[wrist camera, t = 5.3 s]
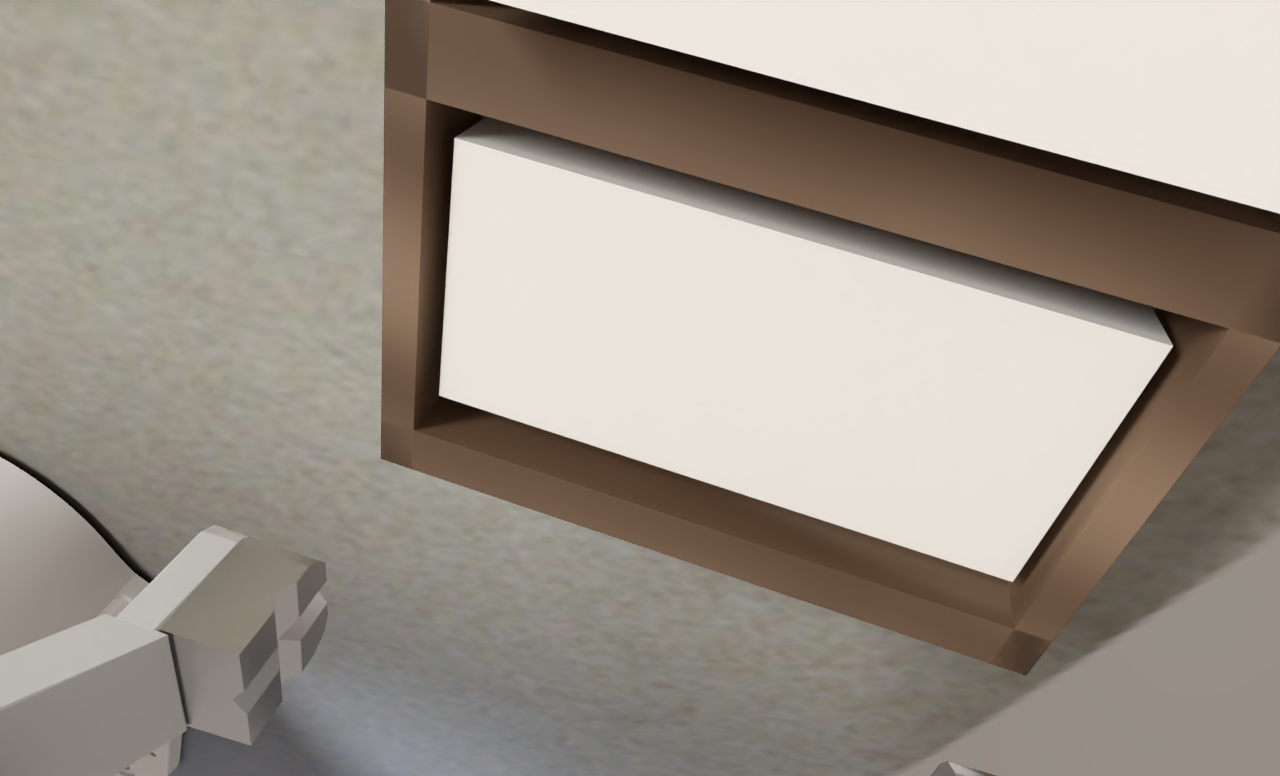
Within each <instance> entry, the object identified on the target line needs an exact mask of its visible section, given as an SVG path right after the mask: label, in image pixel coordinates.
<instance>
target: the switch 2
mask: <svg viewBox="0 0 1280 776" xmlns="http://www.w3.org/2000/svg"><path fill="white" fill-rule="evenodd" d="M1172 347H1173V345H1172V343H1171V341H1170V339H1169V337H1168V336H1167V334H1166V332H1165V330H1164V328H1163V326H1162V325H1161V323H1160V321H1159V319H1158V317H1157V315H1156V314H1155V312H1154V310H1153V308H1152V306H1148V305H1145V304H1141V303H1138V302H1134V301H1131V300H1127V299H1124V298H1120V297H1117V296H1113V295H1110V294H1106V293H1103V292H1099V291H1096V290H1092V289H1089V288H1085V287H1082V286H1078V285H1075V284H1071V283H1068V282H1064V281H1061V280H1057V279H1054V278H1050V277H1047V276H1043V275H1040V274H1036V273H1033V272H1029V271H1026V270H1022V269H1019V268H1015V267H1012V266H1008V265H1005V264H1001V263H998V262H994V261H991V260H987V259H984V258H980V257H977V256H973V255H970V254H966V253H963V252H959V251H956V250H952V249H949V248H945V247H942V246H938V245H935V244H931V243H928V242H924V241H921V240H917V239H914V238H910V237H907V236H903V235H900V234H896V233H893V232H889V231H886V230H882V229H879V228H875V227H872V226H868V225H865V224H861V223H858V222H854V221H851V220H847V219H844V218H840V217H837V216H833V215H830V214H826V213H823V212H819V211H816V210H812V209H809V208H805V207H802V206H798V205H795V204H791V203H788V202H784V201H781V200H777V199H774V198H770V197H767V196H763V195H760V194H756V193H753V192H749V191H746V190H742V189H739V188H735V187H732V186H728V185H725V184H721V183H718V182H714V181H711V180H707V179H704V178H700V177H697V176H693V175H690V174H686V173H683V172H679V171H676V170H672V169H669V168H665V167H662V166H658V165H655V164H651V163H648V162H644V161H641V160H637V159H634V158H630V157H627V156H623V155H620V154H616V153H613V152H609V151H606V150H602V149H599V148H595V147H592V146H588V145H585V144H581V143H578V142H574V141H571V140H567V139H564V138H560V137H557V136H553V135H550V134H546V133H543V132H539V131H536V130H532V129H529V128H525V127H522V126H518V125H515V124H511V123H508V122H504V121H501V120H497V119H494V118H490V117H486V118H484V119H483V120H481V121H480V122H478V123H476V124H475V125H473V126H472V127H470V128H469V129H467V130H466V131H464V132H463V133H461V134H460V135H458V136H457V137H455V138H454V154H453V170H452V187H451V204H450V220H449V237H448V253H447V270H446V287H445V303H444V320H443V337H442V353H441V370H440V387H439V396H442V397H445V398H448V399H451V400H454V401H457V402H460V403H463V404H466V405H469V406H472V407H475V408H478V409H482V410H485V411H488V412H491V413H494V414H497V415H500V416H503V417H506V418H509V419H512V420H515V421H518V422H522V423H525V424H528V425H531V426H534V427H537V428H540V429H543V430H546V431H549V432H552V433H555V434H558V435H561V436H565V437H568V438H571V439H574V440H577V441H580V442H583V443H586V444H589V445H592V446H595V447H598V448H601V449H605V450H608V451H611V452H614V453H617V454H620V455H623V456H626V457H629V458H632V459H635V460H638V461H641V462H645V463H648V464H651V465H654V466H657V467H660V468H663V469H666V470H669V471H672V472H675V473H678V474H681V475H685V476H688V477H691V478H694V479H697V480H700V481H703V482H706V483H709V484H712V485H715V486H718V487H721V488H725V489H728V490H731V491H734V492H737V493H740V494H743V495H746V496H749V497H752V498H755V499H758V500H761V501H765V502H768V503H771V504H774V505H777V506H780V507H783V508H786V509H789V510H792V511H795V512H798V513H801V514H805V515H808V516H811V517H814V518H817V519H820V520H823V521H826V522H829V523H832V524H835V525H838V526H841V527H844V528H848V529H851V530H854V531H857V532H860V533H863V534H866V535H869V536H872V537H875V538H878V539H881V540H884V541H888V542H891V543H894V544H897V545H900V546H903V547H906V548H909V549H912V550H915V551H918V552H921V553H924V554H928V555H931V556H934V557H937V558H940V559H943V560H946V561H949V562H952V563H955V564H958V565H961V566H964V567H968V568H971V569H974V570H977V571H980V572H983V573H986V574H989V575H992V576H995V577H998V578H1001V579H1004V580H1008V581H1011V582H1013V581H1014V579H1015V578H1016V576H1017V575H1018V574H1019V572H1020V571H1021V569H1022V568H1023V566H1024V565H1025V563H1026V562H1027V560H1028V559H1029V557H1030V556H1031V554H1032V553H1033V552H1034V550H1035V549H1036V547H1037V546H1038V544H1039V543H1040V541H1041V540H1042V538H1043V537H1044V535H1045V534H1046V532H1047V531H1048V529H1049V528H1050V527H1051V525H1052V524H1053V522H1054V521H1055V519H1056V518H1057V516H1058V515H1059V513H1060V512H1061V510H1062V509H1063V507H1064V506H1065V504H1066V503H1067V502H1068V500H1069V499H1070V497H1071V496H1072V494H1073V493H1074V491H1075V490H1076V488H1077V487H1078V485H1079V484H1080V482H1081V481H1082V480H1083V478H1084V477H1085V475H1086V474H1087V472H1088V471H1089V469H1090V468H1091V466H1092V465H1093V463H1094V462H1095V460H1096V459H1097V457H1098V456H1099V455H1100V453H1101V452H1102V450H1103V449H1104V447H1105V446H1106V444H1107V443H1108V441H1109V440H1110V438H1111V437H1112V435H1113V434H1114V432H1115V431H1116V430H1117V428H1118V427H1119V425H1120V424H1121V422H1122V421H1123V419H1124V418H1125V416H1126V415H1127V413H1128V412H1129V410H1130V409H1131V408H1132V406H1133V405H1134V403H1135V402H1136V400H1137V399H1138V397H1139V396H1140V394H1141V393H1142V391H1143V390H1144V388H1145V387H1146V385H1147V384H1148V383H1149V381H1150V380H1151V378H1152V377H1153V375H1154V374H1155V372H1156V371H1157V369H1158V368H1159V366H1160V365H1161V363H1162V362H1163V360H1164V359H1165V358H1166V356H1167V355H1168V353H1169V352H1170V350H1171V349H1172Z"/></svg>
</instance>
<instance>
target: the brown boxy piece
mask: <svg viewBox="0 0 1280 776" xmlns="http://www.w3.org/2000/svg"><path fill="white" fill-rule="evenodd" d="M486 117H490V118H494V119H497V120H501V121H504V122H508V123H511V124H515V125H518V126H522V127H525V128H529V129H532V130H536V131H539V132H543V133H546V134H550V135H553V136H557V137H560V138H564V139H567V140H571V141H574V142H578V143H581V144H585V145H588V146H592V147H595V148H599V149H602V150H606V151H609V152H613V153H616V154H620V155H623V156H627V157H630V158H634V159H637V160H641V161H644V162H648V163H651V164H655V165H658V166H662V167H665V168H669V169H672V170H676V171H679V172H683V173H686V174H690V175H693V176H697V177H700V178H704V179H707V180H711V181H714V182H718V183H721V184H725V185H728V186H732V187H735V188H739V189H742V190H746V191H749V192H753V193H756V194H760V195H763V196H767V197H770V198H774V199H777V200H781V201H784V202H788V203H791V204H795V205H798V206H802V207H805V208H809V209H812V210H816V211H819V212H823V213H826V214H830V215H833V216H837V217H840V218H844V219H847V220H851V221H854V222H858V223H861V224H865V225H868V226H872V227H875V228H879V229H882V230H886V231H889V232H893V233H896V234H900V235H903V236H907V237H910V238H914V239H917V240H921V241H924V242H928V243H931V244H935V245H938V246H942V247H945V248H949V249H952V250H956V251H959V252H963V253H966V254H970V255H973V256H977V257H980V258H984V259H987V260H991V261H994V262H998V263H1001V264H1005V265H1008V266H1012V267H1015V268H1019V269H1022V270H1026V271H1029V272H1033V273H1036V274H1040V275H1043V276H1047V277H1050V278H1054V279H1057V280H1061V281H1064V282H1068V283H1071V284H1075V285H1078V286H1082V287H1085V288H1089V289H1092V290H1096V291H1099V292H1103V293H1106V294H1110V295H1113V296H1117V297H1120V298H1124V299H1127V300H1131V301H1134V302H1138V303H1141V304H1145V305H1148V306H1152V308H1153V310H1154V312H1155V314H1156V315H1157V317H1158V319H1159V321H1160V323H1161V325H1162V326H1163V328H1164V330H1165V332H1166V334H1167V336H1168V337H1169V339H1170V341H1171V343H1172V345H1173V347H1172V349H1171V350H1170V352H1169V353H1168V355H1167V356H1166V358H1165V359H1164V360H1163V362H1162V363H1161V365H1160V366H1159V368H1158V369H1157V371H1156V372H1155V374H1154V375H1153V377H1152V378H1151V380H1150V381H1149V383H1148V384H1147V385H1146V387H1145V388H1144V390H1143V391H1142V393H1141V394H1140V396H1139V397H1138V399H1137V400H1136V402H1135V403H1134V405H1133V406H1132V408H1131V409H1130V410H1129V412H1128V413H1127V415H1126V416H1125V418H1124V419H1123V421H1122V422H1121V424H1120V425H1119V427H1118V428H1117V430H1116V431H1115V432H1114V434H1113V435H1112V437H1111V438H1110V440H1109V441H1108V443H1107V444H1106V446H1105V447H1104V449H1103V450H1102V452H1101V453H1100V455H1099V456H1098V457H1097V459H1096V460H1095V462H1094V463H1093V465H1092V466H1091V468H1090V469H1089V471H1088V472H1087V474H1086V475H1085V477H1084V478H1083V480H1082V481H1081V482H1080V484H1079V485H1078V487H1077V488H1076V490H1075V491H1074V493H1073V494H1072V496H1071V497H1070V499H1069V500H1068V502H1067V503H1066V504H1065V506H1064V507H1063V509H1062V510H1061V512H1060V513H1059V515H1058V516H1057V518H1056V519H1055V521H1054V522H1053V524H1052V525H1051V527H1050V528H1049V529H1048V531H1047V532H1046V534H1045V535H1044V537H1043V538H1042V540H1041V541H1040V543H1039V544H1038V546H1037V547H1036V549H1035V550H1034V552H1033V553H1032V554H1031V556H1030V557H1029V559H1028V560H1027V562H1026V563H1025V565H1024V566H1023V568H1022V569H1021V571H1020V572H1019V574H1018V575H1017V576H1016V578H1015V579H1014V581H1013V582H1011V581H1008V580H1004V579H1001V578H998V577H995V576H992V575H989V574H986V573H983V572H980V571H977V570H974V569H971V568H968V567H964V566H961V565H958V564H955V563H952V562H949V561H946V560H943V559H940V558H937V557H934V556H931V555H928V554H924V553H921V552H918V551H915V550H912V549H909V548H906V547H903V546H900V545H897V544H894V543H891V542H888V541H884V540H881V539H878V538H875V537H872V536H869V535H866V534H863V533H860V532H857V531H854V530H851V529H848V528H844V527H841V526H838V525H835V524H832V523H829V522H826V521H823V520H820V519H817V518H814V517H811V516H808V515H805V514H801V513H798V512H795V511H792V510H789V509H786V508H783V507H780V506H777V505H774V504H771V503H768V502H765V501H761V500H758V499H755V498H752V497H749V496H746V495H743V494H740V493H737V492H734V491H731V490H728V489H725V488H721V487H718V486H715V485H712V484H709V483H706V482H703V481H700V480H697V479H694V478H691V477H688V476H685V475H681V474H678V473H675V472H672V471H669V470H666V469H663V468H660V467H657V466H654V465H651V464H648V463H645V462H641V461H638V460H635V459H632V458H629V457H626V456H623V455H620V454H617V453H614V452H611V451H608V450H605V449H601V448H598V447H595V446H592V445H589V444H586V443H583V442H580V441H577V440H574V439H571V438H568V437H565V436H561V435H558V434H555V433H552V432H549V431H546V430H543V429H540V428H537V427H534V426H531V425H528V424H525V423H522V422H518V421H515V420H512V419H509V418H506V417H503V416H500V415H497V414H494V413H491V412H488V411H485V410H482V409H478V408H475V407H472V406H469V405H466V404H463V403H460V402H457V401H454V400H451V399H448V398H445V397H442V396H439V387H440V370H441V353H442V337H443V320H444V303H445V287H446V270H447V253H448V237H449V220H450V204H451V187H452V170H453V154H454V138H455V137H457V136H458V135H460V134H461V133H463V132H464V131H466V130H467V129H469V128H470V127H472V126H473V125H475V124H476V123H478V122H480V121H481V120H483V119H484V118H486ZM1279 347H1280V214H1279V213H1275V212H1272V211H1268V210H1264V209H1260V208H1257V207H1253V206H1249V205H1246V204H1242V203H1238V202H1235V201H1231V200H1227V199H1223V198H1220V197H1216V196H1212V195H1209V194H1205V193H1201V192H1198V191H1194V190H1190V189H1186V188H1183V187H1179V186H1175V185H1172V184H1168V183H1164V182H1161V181H1157V180H1153V179H1149V178H1146V177H1142V176H1138V175H1135V174H1131V173H1127V172H1123V171H1120V170H1116V169H1112V168H1109V167H1105V166H1101V165H1098V164H1094V163H1090V162H1086V161H1083V160H1079V159H1075V158H1072V157H1068V156H1064V155H1061V154H1057V153H1053V152H1049V151H1046V150H1042V149H1038V148H1035V147H1031V146H1027V145H1023V144H1020V143H1016V142H1012V141H1009V140H1005V139H1001V138H998V137H994V136H990V135H986V134H983V133H979V132H975V131H972V130H968V129H964V128H961V127H957V126H953V125H949V124H946V123H942V122H938V121H935V120H931V119H927V118H924V117H920V116H916V115H912V114H909V113H905V112H901V111H898V110H894V109H890V108H886V107H883V106H879V105H875V104H872V103H868V102H864V101H861V100H857V99H853V98H849V97H846V96H842V95H838V94H835V93H831V92H827V91H824V90H820V89H816V88H812V87H809V86H805V85H801V84H798V83H794V82H790V81H787V80H783V79H779V78H775V77H772V76H768V75H764V74H761V73H757V72H753V71H749V70H746V69H742V68H738V67H735V66H731V65H727V64H724V63H720V62H716V61H712V60H709V59H705V58H701V57H698V56H694V55H690V54H687V53H683V52H679V51H675V50H672V49H668V48H664V47H661V46H657V45H653V44H649V43H646V42H642V41H638V40H635V39H631V38H627V37H624V36H620V35H616V34H612V33H609V32H605V31H601V30H598V29H594V28H590V27H587V26H583V25H579V24H575V23H572V22H568V21H564V20H561V19H557V18H553V17H550V16H546V15H542V14H538V13H535V12H531V11H527V10H524V9H520V8H516V7H512V6H509V5H505V4H501V3H498V2H494V1H490V0H385V86H384V193H383V300H382V407H381V459H384V460H387V461H389V462H392V463H395V464H398V465H401V466H404V467H407V468H410V469H413V470H416V471H419V472H422V473H425V474H428V475H431V476H434V477H437V478H440V479H443V480H446V481H449V482H452V483H455V484H458V485H461V486H464V487H467V488H470V489H473V490H476V491H479V492H482V493H485V494H488V495H491V496H494V497H497V498H500V499H503V500H506V501H508V502H511V503H514V504H517V505H520V506H523V507H526V508H529V509H532V510H535V511H538V512H541V513H544V514H547V515H550V516H553V517H556V518H559V519H562V520H565V521H568V522H571V523H574V524H577V525H580V526H583V527H586V528H589V529H592V530H595V531H598V532H601V533H604V534H607V535H610V536H613V537H616V538H619V539H622V540H624V541H627V542H630V543H633V544H636V545H639V546H642V547H645V548H648V549H651V550H654V551H657V552H660V553H663V554H666V555H669V556H672V557H675V558H678V559H681V560H684V561H687V562H690V563H693V564H696V565H699V566H702V567H705V568H708V569H711V570H714V571H717V572H720V573H723V574H726V575H729V576H732V577H735V578H738V579H741V580H743V581H746V582H749V583H752V584H755V585H758V586H761V587H764V588H767V589H770V590H773V591H776V592H779V593H782V594H785V595H788V596H791V597H794V598H797V599H800V600H803V601H806V602H809V603H812V604H815V605H818V606H821V607H824V608H827V609H830V610H833V611H836V612H839V613H842V614H845V615H848V616H851V617H854V618H857V619H859V620H862V621H865V622H868V623H871V624H874V625H877V626H880V627H883V628H886V629H889V630H892V631H895V632H898V633H901V634H904V635H907V636H910V637H913V638H916V639H919V640H922V641H925V642H928V643H931V644H934V645H937V646H940V647H943V648H946V649H949V650H952V651H955V652H958V653H961V654H964V655H967V656H970V657H973V658H975V659H978V660H981V661H984V662H987V663H990V664H993V665H996V666H999V667H1002V668H1005V669H1008V670H1011V671H1014V672H1017V673H1020V674H1023V675H1027V674H1028V672H1029V671H1030V670H1031V668H1032V667H1033V666H1034V665H1035V663H1036V662H1037V661H1038V659H1039V658H1040V657H1041V656H1042V654H1043V653H1044V652H1045V650H1046V649H1047V648H1048V646H1049V645H1050V644H1051V643H1052V641H1053V640H1054V639H1055V637H1056V636H1057V635H1058V633H1059V632H1060V631H1061V630H1062V628H1063V627H1064V626H1065V624H1066V623H1067V622H1068V621H1069V619H1070V618H1071V617H1072V615H1073V614H1074V613H1075V611H1076V610H1077V609H1078V608H1079V606H1080V605H1081V604H1082V602H1083V601H1084V600H1085V598H1086V597H1087V596H1088V595H1089V593H1090V592H1091V591H1092V589H1093V588H1094V587H1095V586H1096V584H1097V583H1098V582H1099V580H1100V579H1101V578H1102V576H1103V575H1104V574H1105V573H1106V571H1107V570H1108V569H1109V567H1110V566H1111V565H1112V563H1113V562H1114V561H1115V560H1116V558H1117V557H1118V556H1119V554H1120V553H1121V552H1122V551H1123V549H1124V548H1125V547H1126V545H1127V544H1128V543H1129V541H1130V540H1131V539H1132V538H1133V536H1134V535H1135V534H1136V532H1137V531H1138V530H1139V528H1140V527H1141V526H1142V525H1143V523H1144V522H1145V521H1146V519H1147V518H1148V517H1149V515H1150V514H1151V513H1152V512H1153V510H1154V509H1155V508H1156V506H1157V505H1158V504H1159V503H1160V501H1161V500H1162V499H1163V497H1164V496H1165V495H1166V493H1167V492H1168V491H1169V490H1170V488H1171V487H1172V486H1173V484H1174V483H1175V482H1176V480H1177V479H1178V478H1179V477H1180V475H1181V474H1182V473H1183V471H1184V470H1185V469H1186V468H1187V466H1188V465H1189V464H1190V462H1191V461H1192V460H1193V458H1194V457H1195V456H1196V455H1197V453H1198V452H1199V451H1200V449H1201V448H1202V447H1203V445H1204V444H1205V443H1206V442H1207V440H1208V439H1209V438H1210V436H1211V435H1212V434H1213V433H1214V431H1215V430H1216V429H1217V427H1218V426H1219V425H1220V423H1221V422H1222V421H1223V420H1224V418H1225V417H1226V416H1227V414H1228V413H1229V412H1230V410H1231V409H1232V408H1233V407H1234V405H1235V404H1236V403H1237V401H1238V400H1239V399H1240V397H1241V396H1242V395H1243V394H1244V392H1245V391H1246V390H1247V388H1248V387H1249V386H1250V385H1251V383H1252V382H1253V381H1254V379H1255V378H1256V377H1257V375H1258V374H1259V373H1260V372H1261V370H1262V369H1263V368H1264V366H1265V365H1266V364H1267V362H1268V361H1269V360H1270V359H1271V357H1272V356H1273V355H1274V353H1275V352H1276V351H1277V350H1278V348H1279Z"/></svg>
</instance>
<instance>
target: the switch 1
mask: <svg viewBox="0 0 1280 776" xmlns="http://www.w3.org/2000/svg"><path fill="white" fill-rule="evenodd" d="M490 1H494V2H498V3H501V4H505V5H509V6H512V7H516V8H520V9H524V10H527V11H531V12H535V13H538V14H542V15H546V16H550V17H553V18H557V19H561V20H564V21H568V22H572V23H575V24H579V25H583V26H587V27H590V28H594V29H598V30H601V31H605V32H609V33H612V34H616V35H620V36H624V37H627V38H631V39H635V40H638V41H642V42H646V43H649V44H653V45H657V46H661V47H664V48H668V49H672V50H675V51H679V52H683V53H687V54H690V55H694V56H698V57H701V58H705V59H709V60H712V61H716V62H720V63H724V64H727V65H731V66H735V67H738V68H742V69H746V70H749V71H753V72H757V73H761V74H764V75H768V76H772V77H775V78H779V79H783V80H787V81H790V82H794V83H798V84H801V85H805V86H809V87H812V88H816V89H820V90H824V91H827V92H831V93H835V94H838V95H842V96H846V97H849V98H853V99H857V100H861V101H864V102H868V103H872V104H875V105H879V106H883V107H886V108H890V109H894V110H898V111H901V112H905V113H909V114H912V115H916V116H920V117H924V118H927V119H931V120H935V121H938V122H942V123H946V124H949V125H953V126H957V127H961V128H964V129H968V130H972V131H975V132H979V133H983V134H986V135H990V136H994V137H998V138H1001V139H1005V140H1009V141H1012V142H1016V143H1020V144H1023V145H1027V146H1031V147H1035V148H1038V149H1042V150H1046V151H1049V152H1053V153H1057V154H1061V155H1064V156H1068V157H1072V158H1075V159H1079V160H1083V161H1086V162H1090V163H1094V164H1098V165H1101V166H1105V167H1109V168H1112V169H1116V170H1120V171H1123V172H1127V173H1131V174H1135V175H1138V176H1142V177H1146V178H1149V179H1153V180H1157V181H1161V182H1164V183H1168V184H1172V185H1175V186H1179V187H1183V188H1186V189H1190V190H1194V191H1198V192H1201V193H1205V194H1209V195H1212V196H1216V197H1220V198H1223V199H1227V200H1231V201H1235V202H1238V203H1242V204H1246V205H1249V206H1253V207H1257V208H1260V209H1264V210H1268V211H1272V212H1275V213H1279V214H1280V0H490Z"/></svg>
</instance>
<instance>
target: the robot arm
mask: <svg viewBox="0 0 1280 776" xmlns="http://www.w3.org/2000/svg"><path fill="white" fill-rule="evenodd" d="M326 580H327V578H326V567H325V563H324V562H322V561H319V560H316V559H313V558H310V557H307V556H304V555H301V554H298V553H296V552H293V551H290V550H287V549H284V548H281V547H278V546H275V545H272V544H270V543H267V542H264V541H261V540H258V539H255V538H252V537H250V536H247V535H244V534H241V533H238V532H235V531H232V530H229V529H225V528H222V527H219V526H216V525H213V526H212V527H210V528H208V529H206V530H204V531H202V532H200V533H199V534H198V535H197V536H196V537H195V538H194V539H193V540H192V541H191V542H190V543H189V544H188V545H187V546H186V547H185V548H184V549H183V550H182V551H181V552H180V553H179V554H178V555H177V556H176V557H175V558H174V559H173V560H172V561H171V562H170V563H169V564H168V565H167V566H166V567H165V568H164V569H163V570H162V571H161V572H160V573H159V574H158V575H157V576H156V577H155V579H154V580H153V581H152V582H151V583H150V584H149V583H148V582H146V581H145V580H144V579H142V578H141V577H140V576H138V575H137V574H136V573H135V572H133V571H132V570H131V569H130V568H129V567H128V566H127V565H126V564H125V563H124V562H123V560H122V559H121V558H120V557H119V556H118V555H117V554H116V553H115V552H114V550H113V549H112V548H111V547H110V546H109V545H108V544H107V542H106V541H105V540H104V539H103V538H102V537H101V536H100V535H99V533H98V532H97V531H96V530H95V529H94V528H93V527H92V526H91V525H90V524H89V523H88V522H87V521H86V520H85V519H84V518H83V517H82V516H81V515H79V514H78V513H77V512H76V511H75V510H74V509H73V508H72V507H71V506H69V505H68V504H67V503H66V502H65V501H64V500H62V499H61V498H60V497H59V496H57V495H56V494H55V493H54V492H52V491H51V490H50V489H49V488H47V487H46V486H44V485H43V484H42V483H40V482H39V481H38V480H36V479H35V478H33V477H32V476H30V475H29V474H27V473H26V472H24V471H23V470H21V469H20V468H18V467H16V466H15V465H13V464H12V463H10V462H8V461H6V460H5V459H3V458H1V457H0V776H114V775H115V774H117V775H121V776H169V775H170V774H171V772H172V771H173V770H174V769H175V768H176V767H177V766H178V764H179V762H180V753H181V742H182V733H184V732H185V731H187V726H189V727H192V728H195V729H198V730H202V731H205V732H208V733H211V734H215V735H218V736H221V737H224V738H227V739H231V740H234V741H237V742H240V743H244V744H247V745H250V746H251V745H252V744H253V742H254V741H255V739H256V738H257V736H258V735H259V734H260V732H261V731H262V729H263V728H264V726H265V725H266V724H267V722H268V721H269V719H270V718H271V716H272V715H273V713H274V712H275V711H276V709H277V708H278V706H279V705H280V703H281V702H282V690H281V682H283V681H285V680H287V679H289V678H291V677H293V676H295V675H297V674H299V673H301V672H302V671H303V670H304V668H305V667H306V665H307V664H308V662H309V661H310V659H311V658H312V656H313V655H314V653H315V651H316V649H317V647H318V644H319V642H320V640H321V638H322V635H323V633H324V630H325V625H326V621H327V616H328V611H327V602H326V600H325V599H324V598H323V596H322V595H321V594H320V592H319V590H320V589H321V587H322V586H323V584H324V583H325V582H326ZM931 776H995V775H992V774H988V773H985V772H982V771H978V770H975V769H971V768H968V767H965V766H961V765H959V764H955V763H952V762H949V761H947V762H944V763H941V764H939V766H938V767H937V768H936V770H935V771H934V772H933V774H932V775H931Z"/></svg>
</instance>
